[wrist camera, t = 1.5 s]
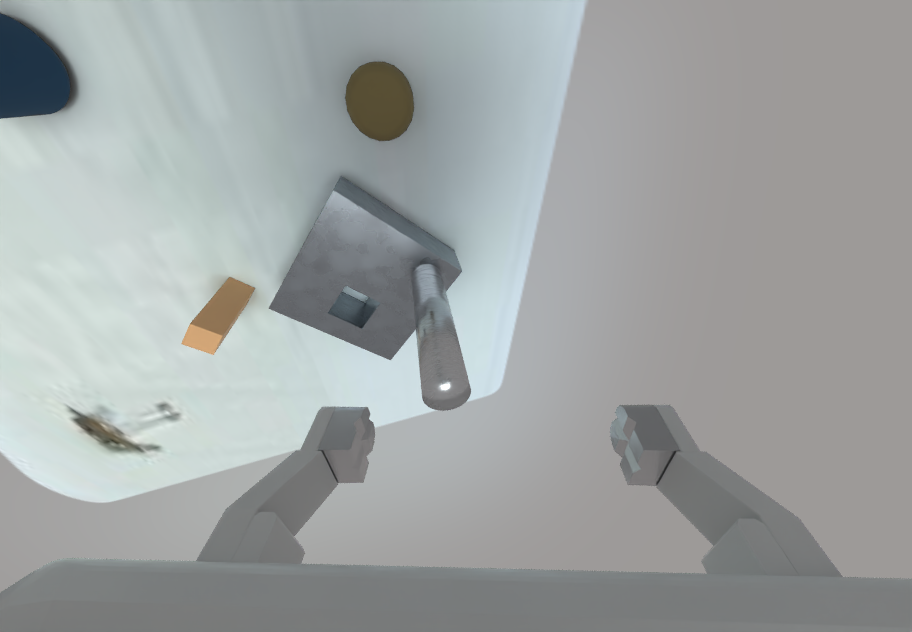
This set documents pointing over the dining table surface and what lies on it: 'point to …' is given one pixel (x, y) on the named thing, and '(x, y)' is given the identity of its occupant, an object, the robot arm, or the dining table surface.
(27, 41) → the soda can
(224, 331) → the orange brown rectangular block
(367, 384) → the dining table surface
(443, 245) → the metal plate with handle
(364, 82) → the cork
